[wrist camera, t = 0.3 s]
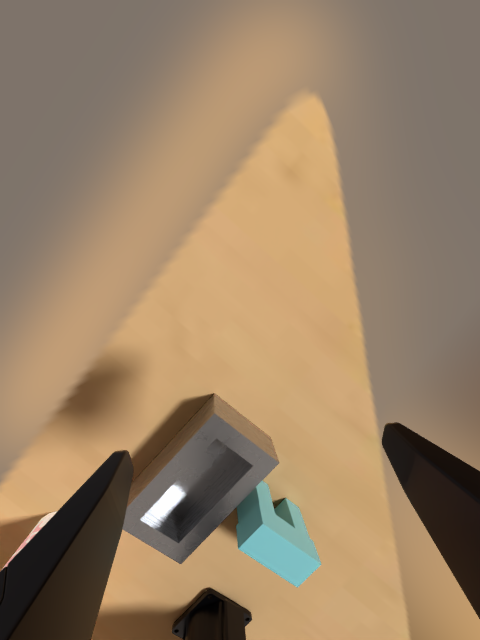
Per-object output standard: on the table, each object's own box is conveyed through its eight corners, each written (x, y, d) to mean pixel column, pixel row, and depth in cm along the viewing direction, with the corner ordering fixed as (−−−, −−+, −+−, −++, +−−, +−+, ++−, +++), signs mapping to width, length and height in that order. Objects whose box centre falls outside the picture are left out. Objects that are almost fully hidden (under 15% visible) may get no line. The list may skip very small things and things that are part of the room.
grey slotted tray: (184, 527, 27) (180, 564, 24) (126, 489, 26) (112, 523, 22) (270, 437, 26) (279, 462, 23) (214, 393, 25) (214, 413, 21)
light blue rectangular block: (300, 507, 28) (321, 564, 23) (281, 527, 28) (297, 587, 23) (253, 472, 27) (262, 523, 21) (233, 493, 27) (238, 548, 21)
